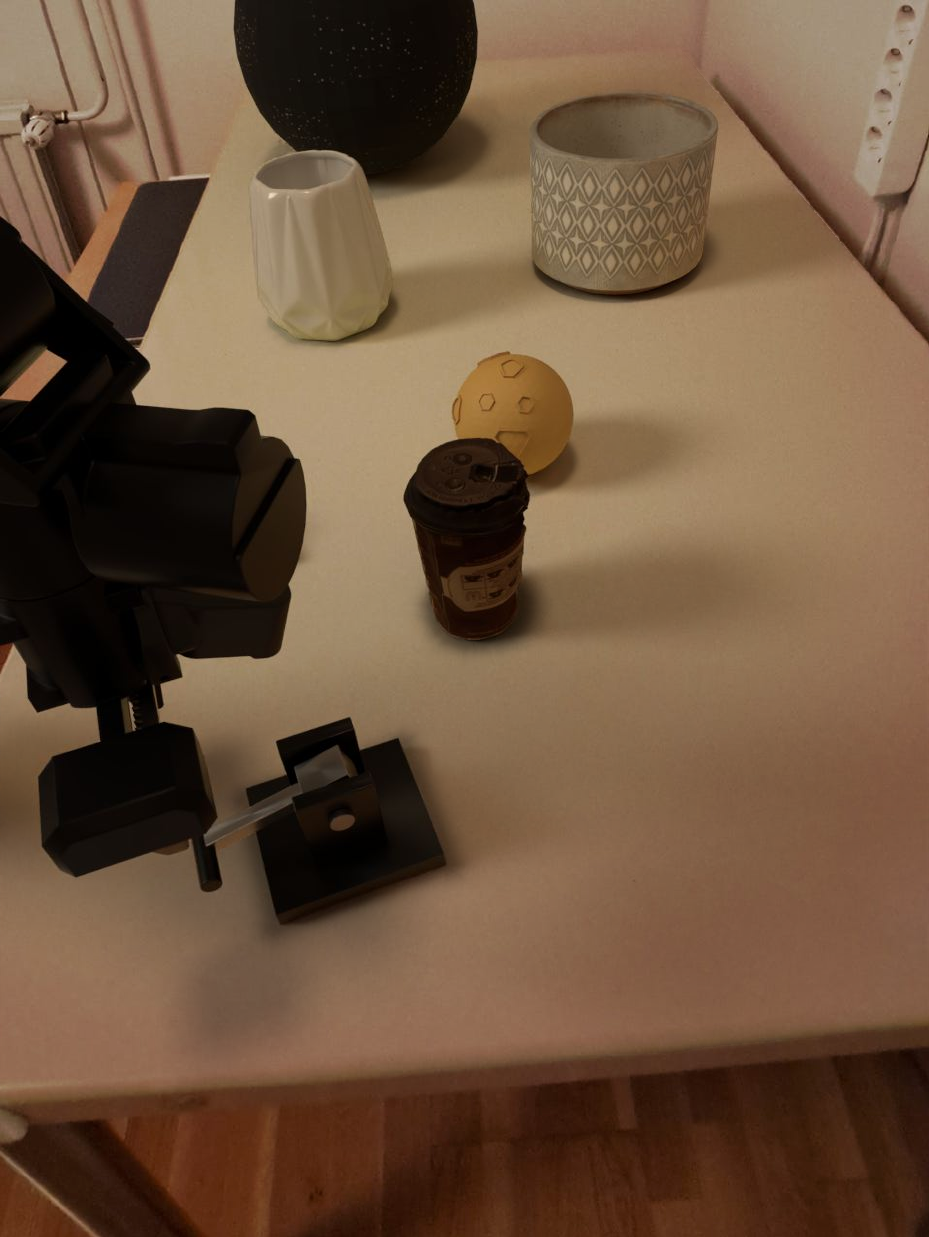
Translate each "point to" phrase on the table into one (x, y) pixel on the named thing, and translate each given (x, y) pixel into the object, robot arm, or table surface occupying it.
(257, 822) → the switch lever
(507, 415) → the stress ball
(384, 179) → the table surface
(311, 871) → the lever bracket
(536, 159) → the planter
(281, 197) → the vase
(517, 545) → the coffee cup
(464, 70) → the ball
